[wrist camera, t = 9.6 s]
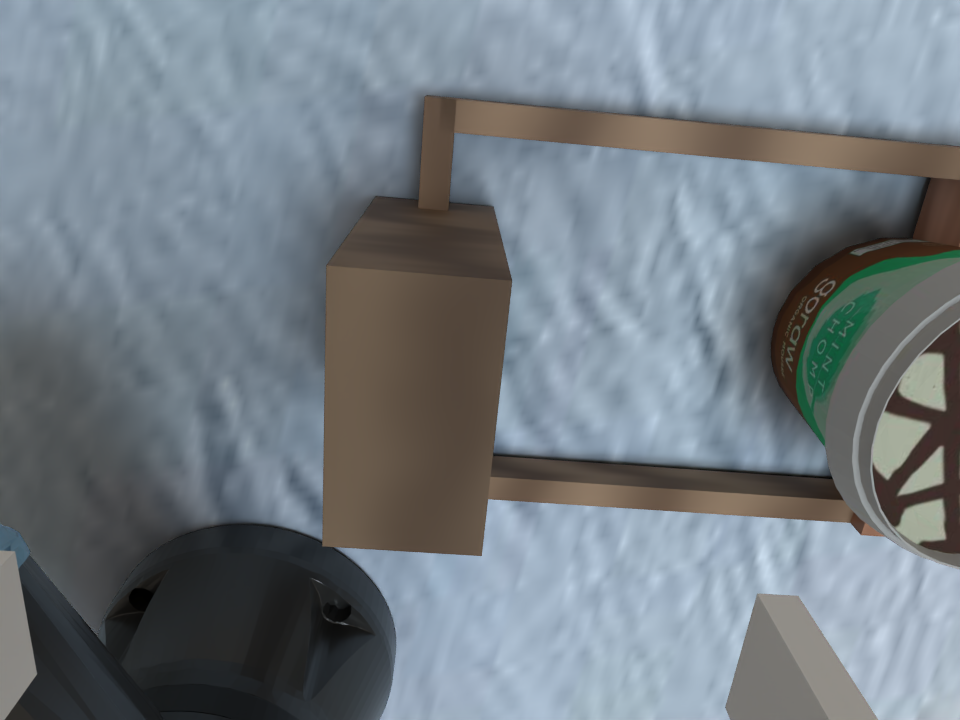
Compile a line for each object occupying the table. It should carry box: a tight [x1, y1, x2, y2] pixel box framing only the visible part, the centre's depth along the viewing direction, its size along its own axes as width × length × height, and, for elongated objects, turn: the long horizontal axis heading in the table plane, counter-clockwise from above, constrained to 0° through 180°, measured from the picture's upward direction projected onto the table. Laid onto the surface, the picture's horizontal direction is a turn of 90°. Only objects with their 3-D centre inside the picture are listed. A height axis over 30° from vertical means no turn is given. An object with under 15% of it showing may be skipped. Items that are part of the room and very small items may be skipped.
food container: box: [771, 238, 960, 569], centre depth 29 cm, size 12×6×10 cm, turn 175°
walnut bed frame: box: [322, 95, 960, 556], centre depth 27 cm, size 25×17×12 cm
